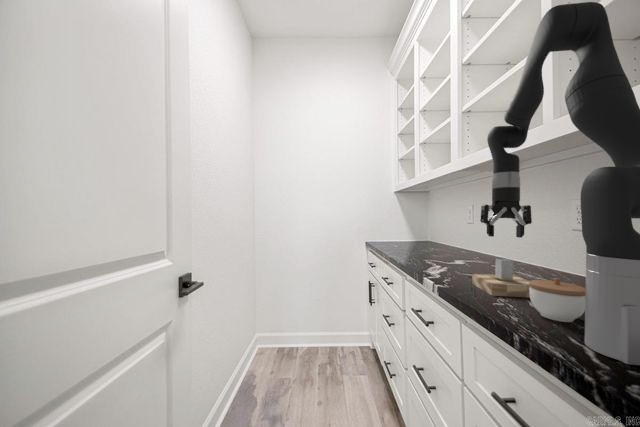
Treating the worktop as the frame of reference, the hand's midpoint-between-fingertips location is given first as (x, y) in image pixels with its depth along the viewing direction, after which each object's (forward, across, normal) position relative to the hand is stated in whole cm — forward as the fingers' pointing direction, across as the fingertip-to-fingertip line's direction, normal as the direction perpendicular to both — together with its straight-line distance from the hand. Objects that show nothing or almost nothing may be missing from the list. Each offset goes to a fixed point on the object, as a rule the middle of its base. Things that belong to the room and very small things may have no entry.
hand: (505, 236), depth 88 cm
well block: (+17, 0, 0) cm, 17 cm away
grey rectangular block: (+17, 0, 0) cm, 17 cm away
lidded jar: (+18, 0, -23) cm, 29 cm away
